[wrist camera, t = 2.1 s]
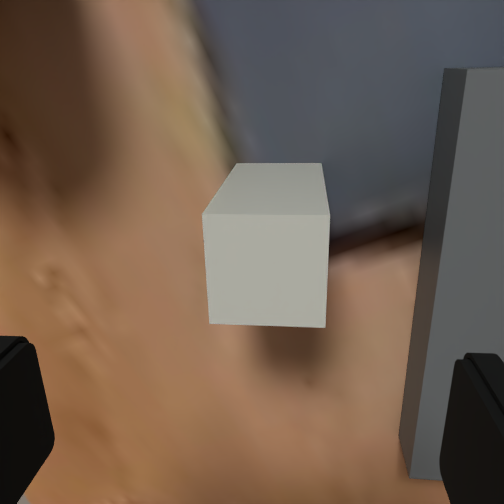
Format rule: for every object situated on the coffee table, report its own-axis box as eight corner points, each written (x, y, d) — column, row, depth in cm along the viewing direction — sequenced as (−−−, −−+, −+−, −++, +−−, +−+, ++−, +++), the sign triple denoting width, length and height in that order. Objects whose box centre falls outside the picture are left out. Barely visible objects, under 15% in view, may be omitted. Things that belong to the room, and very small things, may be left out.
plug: (236, 163, 22) (202, 214, 15) (321, 163, 21) (330, 215, 14) (239, 241, 23) (209, 323, 16) (318, 242, 23) (325, 327, 16)
